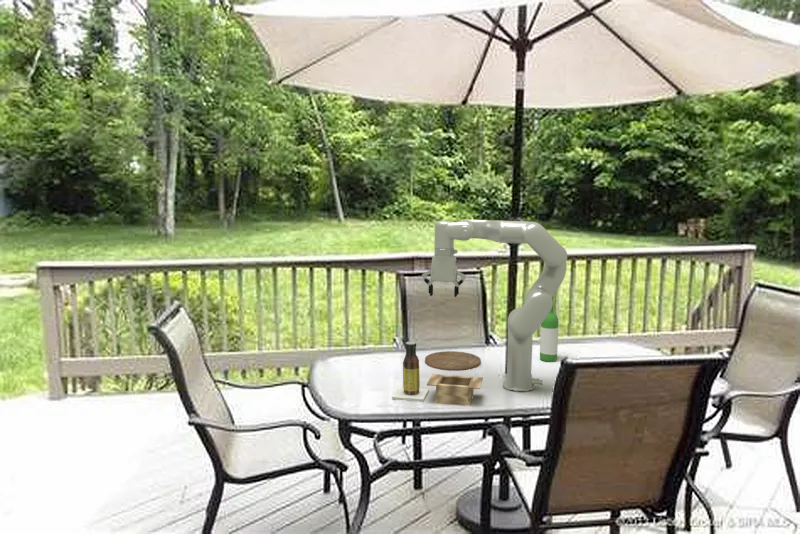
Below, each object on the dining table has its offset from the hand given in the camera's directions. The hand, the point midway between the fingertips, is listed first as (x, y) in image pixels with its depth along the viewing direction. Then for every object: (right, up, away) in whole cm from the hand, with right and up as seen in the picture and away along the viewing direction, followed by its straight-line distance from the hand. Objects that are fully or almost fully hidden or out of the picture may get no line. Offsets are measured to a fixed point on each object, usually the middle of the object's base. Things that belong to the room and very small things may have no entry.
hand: (443, 295), depth 253 cm
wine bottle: (+50, -31, +40) cm, 72 cm away
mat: (-13, -38, -7) cm, 41 cm away
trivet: (+7, -32, +36) cm, 49 cm away
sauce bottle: (-13, -37, -7) cm, 40 cm away
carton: (+4, -38, -11) cm, 40 cm away
